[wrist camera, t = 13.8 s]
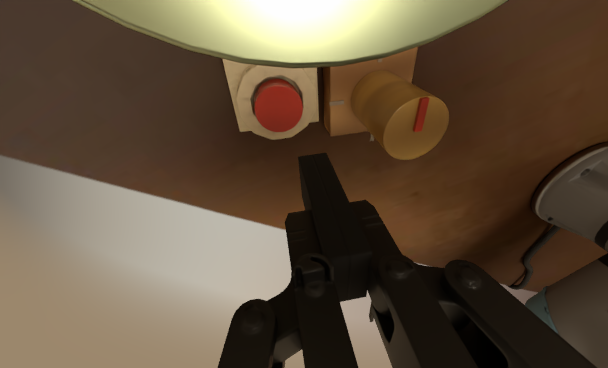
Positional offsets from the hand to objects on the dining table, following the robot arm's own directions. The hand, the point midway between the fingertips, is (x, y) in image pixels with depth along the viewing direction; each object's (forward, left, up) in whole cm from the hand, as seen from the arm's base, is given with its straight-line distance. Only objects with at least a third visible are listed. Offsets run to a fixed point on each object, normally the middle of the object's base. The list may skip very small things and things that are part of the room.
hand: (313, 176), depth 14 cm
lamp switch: (0, +1, -11) cm, 11 cm away
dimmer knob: (-1, -9, -12) cm, 15 cm away
